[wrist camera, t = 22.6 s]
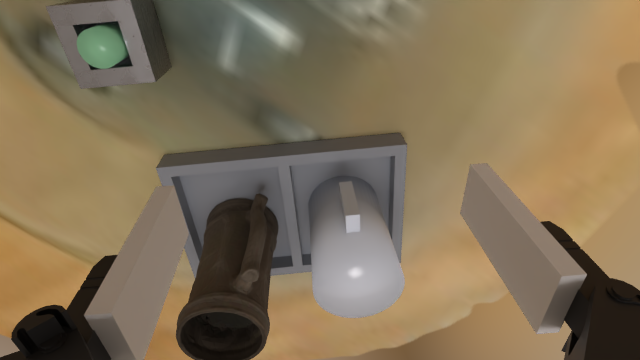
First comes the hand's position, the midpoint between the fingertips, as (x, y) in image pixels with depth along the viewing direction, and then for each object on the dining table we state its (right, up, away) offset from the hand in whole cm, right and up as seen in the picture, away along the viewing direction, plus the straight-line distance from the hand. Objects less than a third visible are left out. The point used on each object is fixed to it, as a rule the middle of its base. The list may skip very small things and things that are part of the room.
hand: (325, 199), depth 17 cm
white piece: (+3, -2, +38) cm, 38 cm away
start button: (-22, +17, +25) cm, 37 cm away
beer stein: (-11, -4, +39) cm, 40 cm away
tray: (-5, -3, +39) cm, 40 cm away
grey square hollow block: (-22, +18, +26) cm, 38 cm away
